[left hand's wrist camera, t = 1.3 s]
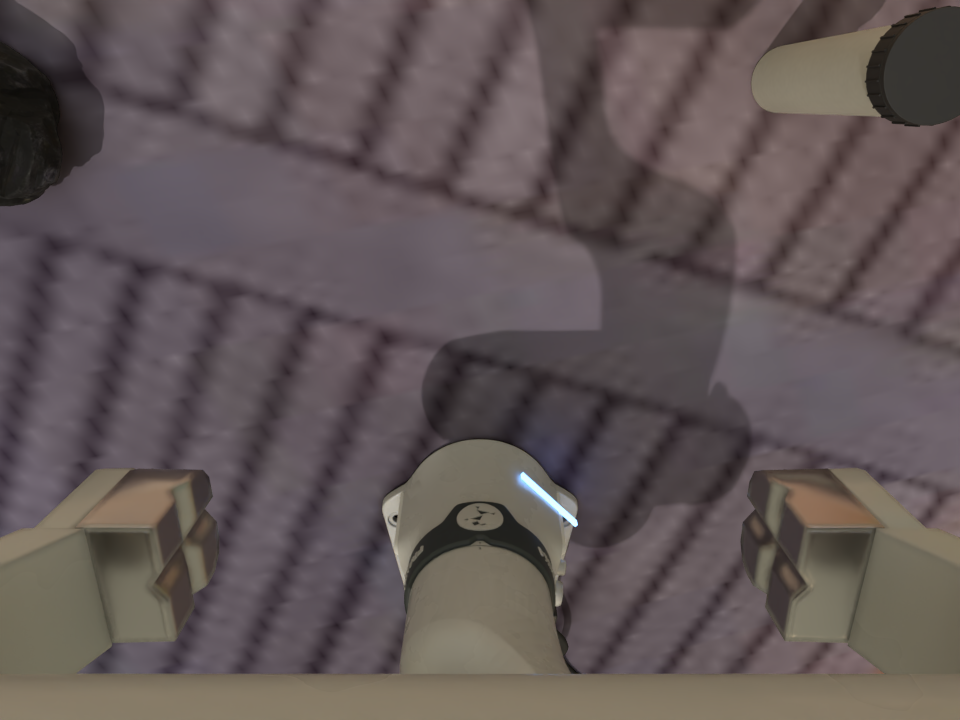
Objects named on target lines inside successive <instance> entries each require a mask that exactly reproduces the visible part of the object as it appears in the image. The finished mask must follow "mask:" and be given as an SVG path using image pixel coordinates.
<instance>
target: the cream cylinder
mask: <svg viewBox="0 0 960 720" xmlns="http://www.w3.org/2000/svg"><path fill="white" fill-rule="evenodd" d="M890 28H891V25H890V26H884V27H879V28H874V29H868V30H863V31H858V32H853V33H847V34H842V35H837V36H831V37H826V38H821V39H816V40H810V41H805V42H800V43H794V44H789V45H784V46H779V47H776V48H774V49H772V50H770V51H769V52H768V53H766V54H765V55H764V56H763V57H762V58H761V59H760V61H759V62H758V64H757V65H756V67H755V69H754V72H753V75H752V81H751V88H752V93H753V96H754V99H755V100H756V102H757V103H758V104H759V105H760V106H761V107H762V108H763V109H765V110H767V111H769V112H773V113H793V114H822V115H852V116H881V115H880V114H879V113H878V112H877V111H876V109H873V108H872V107H873V105H872V103H871V102H870V99H869V97H867V94H868V93H867V89H866V83H865V81H866V72H867V68H866V66H867V65H868V63H869V59H870V57H871V54H872V53H871V52H872V50H874V48H875V47H876V45H877V43H878V42H879V40H880V37H881V36H883V35H884V34H885V33H886V32H887V31H888V30H889V29H890Z"/></svg>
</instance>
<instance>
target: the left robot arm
mask: <svg viewBox="0 0 960 720" xmlns="http://www.w3.org/2000/svg"><path fill="white" fill-rule="evenodd" d="M212 497H213V494H212V489H211V484H210V479H209V476H208V475H207V474H206V473H205V472H204V471H203V470H182V469H134V468H113V469H99V470H95V471H94V472H93V473H92V474H91V475H90V476H89V477H88V478H87V479H86V480H85V481H84V482H83V483H82V484H80V485H79V486H78V487H77V488H76V489H75V490H74V491H73V492H72V493H71V494H70V495H69V496H68V497H67V498H66V499H64V500H63V501H62V502H61V503H60V504H59V505H58V506H57V507H56V508H55V509H54V510H53V511H52V512H51V513H50V514H49V515H47V516H46V517H45V518H44V519H43V520H42V521H41V522H40V523H39V524H38V525H37V526H36V527H35V528H28V529H20V530H18V531H15V532H13V533H11V534H8V535H6V536H3V537H1V538H0V720H960V538H959V537H957V536H954V535H952V534H949V533H947V532H945V531H942V530H940V529H933V528H925V527H924V526H923V525H922V524H921V523H920V522H919V521H918V520H917V519H916V518H915V517H914V516H913V515H912V514H910V513H909V512H908V511H907V510H906V509H905V508H904V507H903V506H902V505H901V504H900V503H899V502H898V501H897V500H896V499H895V498H894V497H892V496H891V495H890V494H889V493H888V492H887V491H886V490H885V489H884V488H883V487H882V486H881V485H880V484H879V483H878V482H877V481H876V480H874V479H873V478H872V477H871V476H870V475H869V474H868V473H867V472H866V471H864V470H861V469H858V468H840V469H795V470H761V471H754V473H753V475H752V478H751V480H750V483H749V489H748V494H747V497H748V498H749V500H750V501H751V503H752V505H753V506H754V508H755V510H754V511H753V512H752V513H751V514H750V515H749V516H748V517H747V518H746V519H745V520H744V522H743V526H742V534H741V551H742V561H743V564H744V567H745V570H746V573H747V575H748V577H749V579H750V581H751V583H752V584H753V586H755V587H756V588H758V589H760V590H761V591H763V592H764V593H766V594H767V599H766V605H765V607H766V609H767V611H768V613H769V614H770V616H771V618H772V620H773V621H774V623H775V625H776V627H777V628H778V630H779V632H780V633H781V635H782V637H783V639H784V640H785V641H799V642H836V643H848V646H849V647H850V648H852V649H853V650H854V651H855V652H857V653H858V654H859V655H861V656H862V657H863V658H865V659H866V660H867V661H869V662H870V663H871V664H873V665H874V666H875V667H877V668H878V669H879V670H880V671H882V672H883V673H884V674H578V673H577V672H576V671H575V670H573V669H572V668H571V667H570V666H569V665H568V664H567V662H566V661H565V660H564V658H563V655H564V654H565V653H566V652H567V650H568V644H567V641H566V639H565V638H564V636H563V635H562V634H561V633H560V632H559V631H558V630H557V629H556V626H555V624H556V620H557V611H556V606H560V605H561V602H562V598H563V583H562V582H561V581H558V577H559V575H564V574H565V571H566V561H565V560H564V556H565V553H566V550H567V546H568V543H569V539H570V536H571V532H572V529H573V525H574V526H575V527H576V526H577V525H578V524H577V520H576V515H577V511H578V503H577V499H576V498H575V497H574V496H573V495H572V494H571V493H570V492H568V491H567V490H565V489H563V488H561V487H560V486H558V485H556V484H555V483H554V482H553V481H552V480H551V479H550V478H549V476H548V475H547V474H546V472H545V471H544V469H543V468H542V467H541V466H540V464H539V463H538V462H537V461H536V460H535V459H533V458H532V457H531V456H530V455H528V454H527V453H526V452H524V451H522V450H521V449H519V448H517V447H515V446H512V445H510V444H507V443H504V442H500V441H495V440H487V439H473V440H465V441H460V442H456V443H453V444H450V445H448V446H445V447H443V448H441V449H439V450H438V451H436V452H434V453H433V454H432V455H430V456H429V457H428V458H427V459H425V460H424V461H423V462H422V463H421V464H420V466H419V467H418V468H417V470H416V471H415V472H414V474H413V475H412V477H411V478H410V479H409V480H408V481H407V482H406V483H405V484H404V485H402V486H400V487H399V488H397V489H395V490H394V491H392V492H390V493H389V494H388V495H387V496H386V497H385V498H384V500H383V504H382V511H383V515H384V518H385V522H386V525H387V529H388V532H389V536H390V539H391V543H392V546H393V549H394V553H395V556H396V560H397V563H398V567H399V570H400V574H401V577H402V580H403V584H404V590H405V594H404V604H405V610H406V614H407V618H406V625H405V632H404V639H403V646H402V653H401V660H400V674H76V673H77V672H78V671H80V670H81V669H82V668H84V667H85V666H86V665H88V664H89V663H90V662H92V661H93V660H94V659H96V658H97V657H98V656H100V655H101V654H102V653H103V652H105V651H106V650H107V649H109V648H110V647H111V646H112V643H124V642H159V641H176V639H177V637H178V635H179V634H180V632H181V630H182V628H183V627H184V625H185V623H186V621H187V620H188V618H189V616H190V614H191V613H192V611H193V609H194V607H195V605H194V599H193V594H194V593H196V592H197V591H199V590H200V589H202V588H204V587H205V586H207V584H208V583H209V581H210V579H211V577H212V575H213V573H214V571H215V567H216V563H217V558H218V554H219V532H218V525H217V522H216V520H215V519H214V518H213V517H212V516H211V515H210V514H209V513H208V512H207V511H206V510H205V508H206V506H207V505H208V503H209V501H210V500H211V498H212ZM394 515H398V517H397V518H396V517H394ZM562 515H563V516H564V518H563V517H562ZM560 645H561V647H560Z"/></svg>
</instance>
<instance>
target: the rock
mask: <svg viewBox="0 0 960 720" xmlns="http://www.w3.org/2000/svg"><path fill="white" fill-rule="evenodd" d="M59 117H60V113H59V105H58V101H57V98H56V95H55V93H54V91H53V89H52V87H51V84H50V81H49V80H48V78H47V77H46V76H45V75H44V74H43V73H42V72H40V71H39V70H38V69H37V68H35V67H34V66H33V65H32V64H31V63H30V62H29V61H28V60H27V59H26V58H25V57H23V56H22V55H20V54H19V53H17V52H16V51H14V50H13V49H11V48H10V47H9V46H7V45H5V44H3V43H2V42H0V206H14V205H21V204H26V203H29V202H31V201H33V200H35V199H37V198H39V197H40V196H41V195H42V194H43V193H44V192H45V190H46V189H47V188H48V187H49V186H50V185H51V184H52V183H55V182H57V180H58V177H59V173H60V168H61V162H62V149H61V144H60V141H59V138H58V135H57V127H56V126H57V124H58V122H59Z"/></svg>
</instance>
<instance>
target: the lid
mask: <svg viewBox="0 0 960 720" xmlns="http://www.w3.org/2000/svg"><path fill="white" fill-rule="evenodd" d="M904 17H905V18H904V19H902V20H900V21H899V22H897V23H896V24H892V25H891V28H890V29H889V30H888V31H887V32H886V33H885V34H884V35H883V36H881V37H880V40H879V42H878V43H877V45H876V47H875V48H874V50H872V52H871V53H872V54H871V57H870V59H869V63H868V65H867V66H866V68H867V72H866V81H865V83H866V89H867V93H868V94H867V97H869V99H870V102H871V103H872V105H873V107H872V108H873V109H876V111H877V112H878V113H879V114H880V115H881V118H886V119H887V120H889V121H892V124H905V125H904V126H914V127H920V125H929V126H933V125H936V124H940V123H944V122H947V121H949V120H951V119H953V118H955V117H957V116H959V115H960V7H951V6H946V7H941V8H936V7H934V8H929V9H924V10H920V11H919V13H915V14H911V15H906V16H904Z"/></svg>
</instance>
